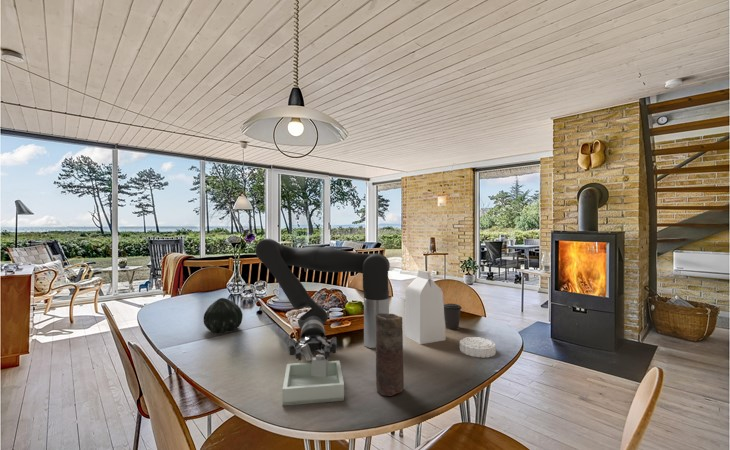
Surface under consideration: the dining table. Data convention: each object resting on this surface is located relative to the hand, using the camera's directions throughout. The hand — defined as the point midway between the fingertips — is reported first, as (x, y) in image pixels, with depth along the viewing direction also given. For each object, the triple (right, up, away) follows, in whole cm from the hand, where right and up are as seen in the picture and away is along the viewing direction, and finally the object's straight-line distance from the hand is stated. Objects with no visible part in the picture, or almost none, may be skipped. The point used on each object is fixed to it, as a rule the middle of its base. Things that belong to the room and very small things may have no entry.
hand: (313, 356), depth 87 cm
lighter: (0, -6, +3) cm, 7 cm away
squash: (-45, -10, +52) cm, 70 cm away
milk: (+37, -10, +44) cm, 58 cm away
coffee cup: (+51, -10, +56) cm, 76 cm away
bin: (0, -10, +2) cm, 10 cm away
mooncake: (+53, -10, +29) cm, 61 cm away
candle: (+20, -10, +1) cm, 22 cm away
